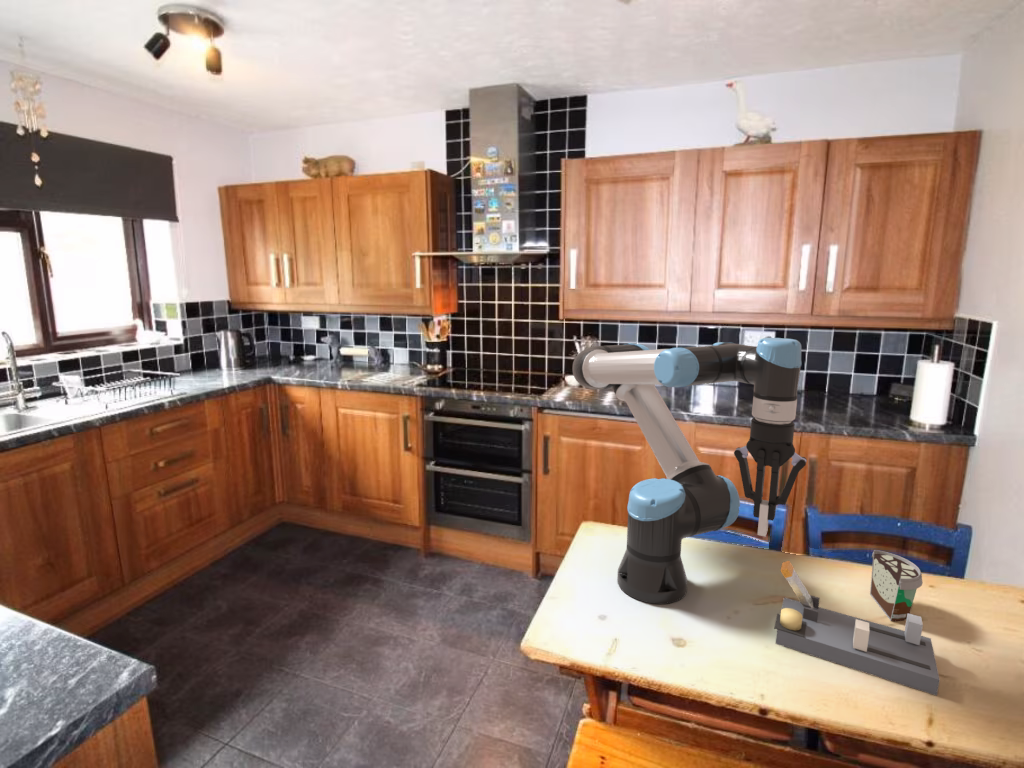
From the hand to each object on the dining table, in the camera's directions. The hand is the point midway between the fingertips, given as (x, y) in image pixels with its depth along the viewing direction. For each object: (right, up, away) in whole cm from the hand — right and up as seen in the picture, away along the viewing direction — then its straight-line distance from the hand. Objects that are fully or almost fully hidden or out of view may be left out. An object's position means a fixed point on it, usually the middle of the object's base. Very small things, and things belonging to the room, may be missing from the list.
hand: (762, 533), depth 106 cm
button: (+2, -16, -6) cm, 17 cm away
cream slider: (+12, -17, -12) cm, 24 cm away
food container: (+30, -17, +4) cm, 34 cm away
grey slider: (+22, -17, -10) cm, 30 cm away
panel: (+13, -19, -8) cm, 24 cm away
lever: (+8, -14, -2) cm, 17 cm away
